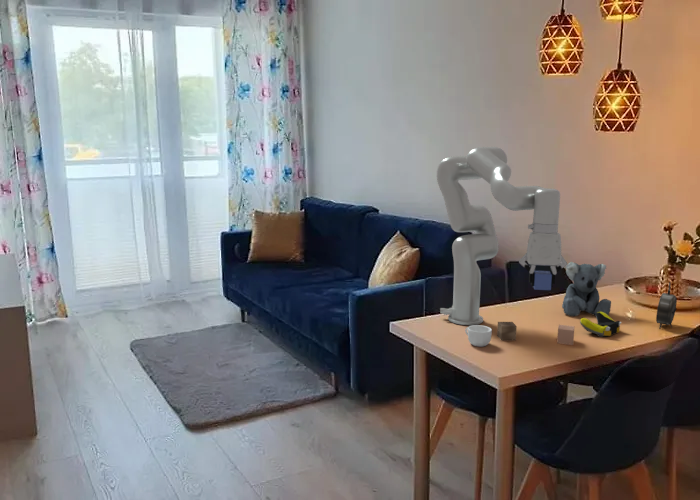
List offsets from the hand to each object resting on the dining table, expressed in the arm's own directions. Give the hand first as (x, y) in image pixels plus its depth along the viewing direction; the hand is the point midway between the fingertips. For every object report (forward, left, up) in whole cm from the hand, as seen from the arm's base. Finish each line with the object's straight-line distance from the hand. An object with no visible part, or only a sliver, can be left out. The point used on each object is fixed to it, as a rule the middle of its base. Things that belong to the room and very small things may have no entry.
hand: (541, 285), depth 207 cm
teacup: (-19, +1, -21) cm, 29 cm away
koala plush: (+23, +47, -21) cm, 56 cm away
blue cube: (0, 0, -1) cm, 1 cm away
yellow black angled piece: (+24, +21, -21) cm, 38 cm away
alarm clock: (+49, +31, -21) cm, 62 cm away
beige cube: (+10, +8, -21) cm, 25 cm away
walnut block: (-9, +9, -21) cm, 24 cm away
